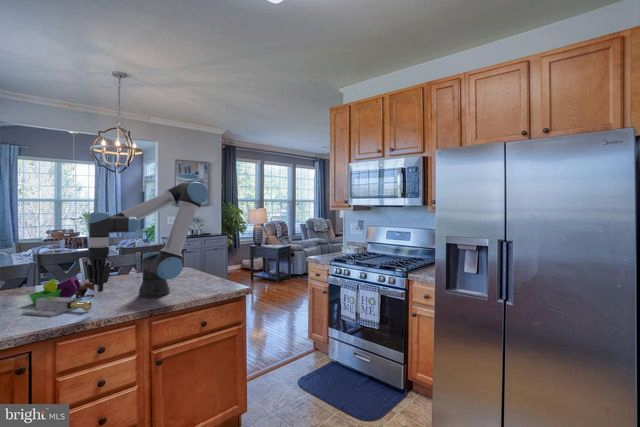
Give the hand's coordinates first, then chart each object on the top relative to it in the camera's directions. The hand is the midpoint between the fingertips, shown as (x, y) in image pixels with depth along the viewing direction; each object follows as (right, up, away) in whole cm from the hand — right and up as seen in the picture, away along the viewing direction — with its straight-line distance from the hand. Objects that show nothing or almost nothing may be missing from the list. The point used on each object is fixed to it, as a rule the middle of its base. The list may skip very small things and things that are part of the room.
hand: (98, 298), depth 148 cm
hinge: (-22, -6, +5) cm, 24 cm away
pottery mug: (-24, -6, +26) cm, 36 cm away
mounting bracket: (-40, -6, +28) cm, 50 cm away
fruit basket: (-36, -6, +16) cm, 40 cm away
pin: (-14, -6, +3) cm, 16 cm away
